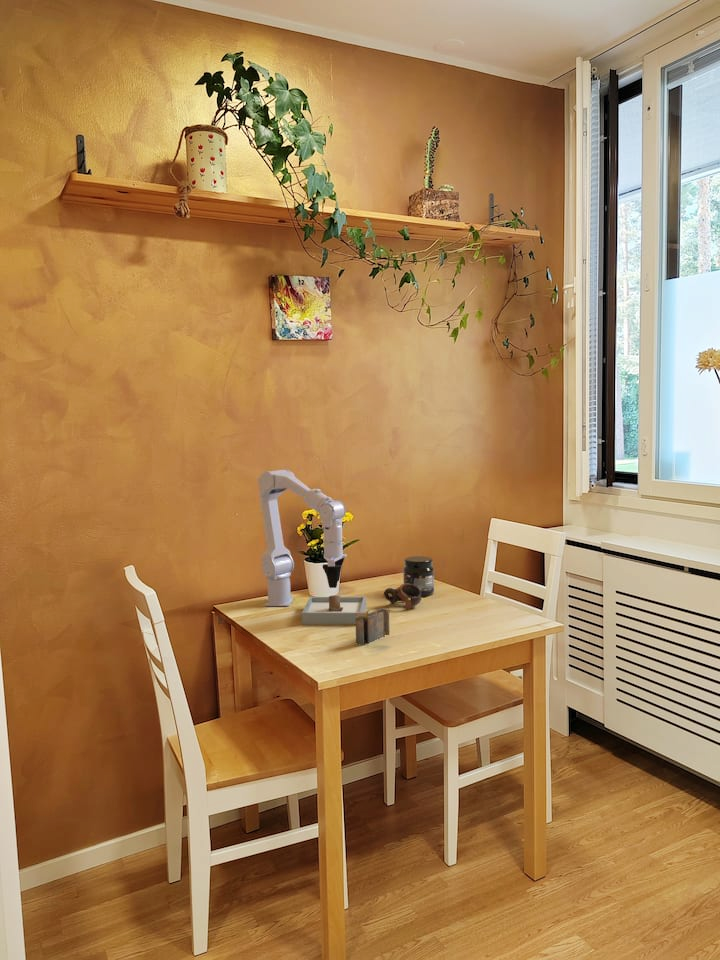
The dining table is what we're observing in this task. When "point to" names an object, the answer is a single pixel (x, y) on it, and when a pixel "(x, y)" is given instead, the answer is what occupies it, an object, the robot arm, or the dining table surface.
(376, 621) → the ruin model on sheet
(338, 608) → the peg
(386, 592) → the rusty metal pipe clamp
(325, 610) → the crate
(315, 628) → the dining table surface
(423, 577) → the supplement container
